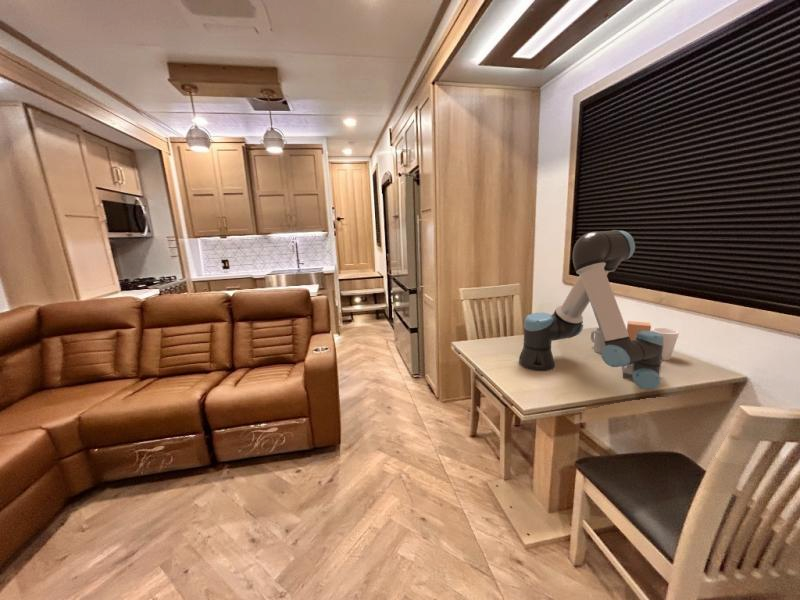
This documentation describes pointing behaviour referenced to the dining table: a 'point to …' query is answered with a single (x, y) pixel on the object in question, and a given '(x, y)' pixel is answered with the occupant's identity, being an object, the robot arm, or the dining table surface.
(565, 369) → the dining table surface
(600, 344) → the mug
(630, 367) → the shallow rimmed tray
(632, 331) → the large orange block
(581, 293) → the robot arm
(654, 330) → the foam cup
